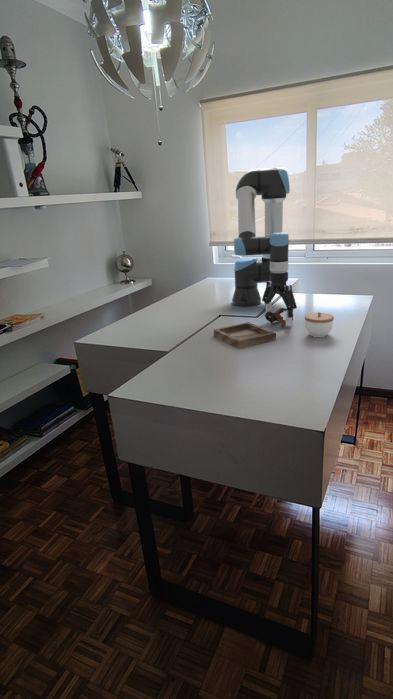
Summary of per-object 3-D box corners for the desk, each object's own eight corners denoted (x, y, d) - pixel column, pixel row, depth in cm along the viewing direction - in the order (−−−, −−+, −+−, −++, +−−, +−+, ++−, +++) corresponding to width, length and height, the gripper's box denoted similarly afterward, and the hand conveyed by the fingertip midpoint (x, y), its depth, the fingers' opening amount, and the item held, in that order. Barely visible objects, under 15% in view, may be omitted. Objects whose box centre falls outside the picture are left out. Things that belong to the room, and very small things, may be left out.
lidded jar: (334, 339, 159) (335, 315, 156) (304, 339, 161) (305, 315, 158) (331, 331, 169) (332, 308, 165) (303, 330, 171) (304, 308, 168)
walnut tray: (213, 336, 171) (213, 329, 170) (248, 328, 178) (248, 322, 177) (239, 348, 155) (239, 341, 154) (276, 339, 162) (276, 332, 161)
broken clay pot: (287, 321, 187) (294, 307, 181) (289, 336, 180) (296, 322, 174) (261, 316, 185) (267, 302, 179) (262, 331, 179) (268, 317, 173)
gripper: (253, 269, 181) (254, 316, 188) (291, 276, 160) (290, 329, 167) (267, 267, 184) (267, 314, 191) (306, 273, 163) (305, 326, 170)
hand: (278, 321), depth 179 cm, fingers open, 13 cm apart
